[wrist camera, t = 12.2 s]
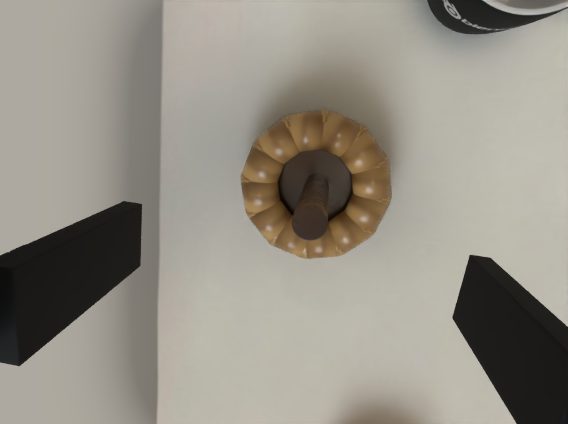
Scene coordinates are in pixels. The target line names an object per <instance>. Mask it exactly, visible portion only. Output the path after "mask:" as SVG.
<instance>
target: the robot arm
mask: <svg viewBox="0 0 568 424" xmlns="http://www.w3.org/2000/svg"><path fill="white" fill-rule="evenodd" d="M141 218H142V204H138V203H132V202H126V201H123V202H121V203H119V204H117V205H115V206H112V207H110V208H108V209H105V210H103V211H101V212H99V213H96V214H94V215H92V216H90V217H88V218H85V219H83V220H81V221H79V222H76V223H74V224H72V225H70V226H67V227H65V228H63V229H60V230H58V231H56V232H54V233H51V234H49V235H47V236H45V237H42V238H40V239H38V240H36V241H33V242H31V243H29V244H26V245H23V246H21V247H18V248H16V249H14V250H12V251H10V252H7V253H5V254H2V255H0V362H1V363H6V364H11V365H17V366H20V365H21V364H23V363H24V362H25V361H26V360H28V359H29V358H30V357H31V356H32V355H34V354H35V353H36V352H37V351H38V350H40V349H41V348H42V347H43V346H44V345H46V344H47V343H48V342H49V341H50V340H52V339H53V338H54V337H55V336H56V335H57V334H59V333H60V332H61V331H62V330H64V329H65V328H66V327H67V326H68V325H70V324H71V323H72V322H73V321H74V320H75V319H77V318H78V317H79V316H80V315H82V314H83V313H84V312H85V311H87V310H88V309H89V308H90V307H91V306H92V305H94V304H95V303H96V302H97V301H99V300H100V299H101V298H102V297H103V296H105V295H106V294H107V293H108V292H109V291H111V290H112V289H113V288H114V287H115V286H117V285H118V284H119V283H120V282H121V281H123V280H124V279H125V278H126V277H127V276H129V275H130V274H131V273H132V272H133V271H135V270H136V269H137V268H138V267H139V266H140V258H141V221H142V219H141ZM452 318H453V320H454V321H455V323H456V325H457V326H458V328H459V330H460V331H461V333H462V335H463V336H464V338H465V340H466V341H467V343H468V344H469V346H470V348H471V349H472V351H473V353H474V354H475V356H476V358H477V359H478V361H479V362H480V364H481V366H482V367H483V369H484V371H485V372H486V374H487V376H488V377H489V379H490V381H491V382H492V384H493V385H494V387H495V389H496V390H497V392H498V394H499V395H500V397H501V399H502V400H503V402H504V404H505V405H506V407H507V408H508V410H509V412H510V413H511V415H512V417H513V418H514V420H515V422H516V423H517V424H568V327H567V326H566V325H565V324H564V323H563V322H562V321H560V320H559V319H558V318H557V317H556V316H555V315H554V314H553V313H551V312H550V311H549V310H548V309H547V308H546V307H545V306H544V305H543V304H541V303H540V302H539V301H538V300H537V299H536V298H535V297H534V296H532V295H531V294H530V293H529V292H528V291H527V290H526V289H525V288H524V287H522V286H521V285H520V284H519V283H518V282H517V281H516V280H515V279H513V278H512V277H511V276H510V275H509V274H508V273H507V272H506V271H504V270H503V269H502V268H501V267H500V266H499V265H498V264H497V263H496V262H494V261H493V260H492V259H491V258H488V257H481V256H475V255H470V256H469V260H468V264H467V267H466V271H465V274H464V278H463V282H462V285H461V289H460V292H459V296H458V300H457V303H456V307H455V310H454V314H453V317H452Z"/></svg>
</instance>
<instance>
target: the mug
mask: <svg viewBox="0 0 568 424" xmlns="http://www.w3.org/2000/svg"><path fill="white" fill-rule="evenodd" d="M427 1H428V4H429V7H430V9H431V11H432V12H433V14H434V15H435V17H436V18H437V19H438V20H439V21H440V22H441V23H442V24H443V25H445V26H446V27H448V28H450V29H452V30H454V31H457V32H461V33H466V34H487V33H493V32H499V31H504V30H508V29H512V28H515V27H519V26H523V25H526V24H529V23H532V22H535V21H537V20H540V19H543V18H546V17H548V16H551V15H553V14H556V13H558V12H560V11H562V10H564V9H566V8H568V0H427Z"/></svg>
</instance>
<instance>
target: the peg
mask: <svg viewBox="0 0 568 424" xmlns="http://www.w3.org/2000/svg"><path fill="white" fill-rule="evenodd" d="M278 188H279V195H280V200H281V202H282V203H283V204H284V206H285V207H286V208H287V209H288V211H289V212H290V213H291V215H293V217H292V222H291V224H292V229H293V231H294V233H295V234H296V235H297V236H298V237H299V238H301V239H303V240H306V241H313V240H317V239H319V238H321V237H322V236H323V235H324V234H325V232H326V230H327V227H328V221H330V220H331V219H332V218H334V217H335V216H337V215H338V214H340V213H341V212H343V211H344V210H345V208H346V206H347V204H348V202H349V200H350V198H351V196H352V194H353V187H352V176H351V172H350V171H349V170H348V168H347V167H346V165H345V164H344V163H343V161H342V160H341V159H340V157H338V156H335V155H333V154H331V153H328V152H326V151H324V150H321V149H318V150H310V151H302V152H300V153H298V154H297V155H296V156H294V157H293V158H292V159H290V160H289V161H288V162H286V163H285V165H284V167H283V169H282V172H281V174H280V177H279V179H278Z"/></svg>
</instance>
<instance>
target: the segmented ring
mask: <svg viewBox="0 0 568 424" xmlns="http://www.w3.org/2000/svg"><path fill="white" fill-rule="evenodd" d="M318 149H321V150H324V151H326V152H328V153H331V154H333V155H335V156H338V157H340V159H341V160H342V161H343V163H344V164H345V165H346V167H347V168H348V170H349V171H350V172H351V176H352V187H353V194H352V196H351V198H350V200H349V202H348V204H347V206H346V208H345V210H344V211H343V212H341V213H340V214H338V215H337V216H335V217H334V218H332V219H331V220H330V221H328V227H327V230H326V232H325V234H324V235H323V236H322V237H321V238H319V239H317V240H313V241H306V240H303V239H301V238H299V237H298V236H297V235H296V234H295V233H294V231H293V229H292V224H291V222H292V217H293V215H291V213H290V212H289V211H288V209H287V208H286V207H285V206H284V204H283V203H282V202H281V200H280V195H279V188H278V179H279V177H280V174H281V172H282V169H283V167H284V165H285V163H286V162H288V161H289V160H290V159H292V158H293V157H294V156H296V155H297V154H298V153H300V152H302V151H310V150H318ZM241 185H242V192H243V198H244V204H245V210H246V214H247V216H248V217H249V219H250V220H251V221H252V223H253V224H254V225H255V226H256V228H257V229H258V230H259V231H260V233H261V234H262V235H263V236H264V238H265V239H266V240H267V241H268V242H269V243H270V244H271V245H273V246H275V247H277V248H280V249H282V250H284V251H287V252H289V253H291V254H294V255H296V256H298V257H301V258H305V259H310V258H322V257H334V256H341V255H343V254H345V253H347V252H348V251H350V250H351V249H353V248H354V247H356V246H357V245H359V244H361V243H362V242H364V241H365V240H367V239H368V238H370V237H371V236H372V235H373V234H374V233H375V231H376V230H377V228H378V226H379V224H380V222H381V220H382V218H383V216H384V214H385V212H386V210H387V208H388V206H389V204H390V202H391V198H392V192H391V177H390V164H389V159H388V157H387V155H386V154H385V152H384V151H383V150H382V148H381V147H380V145H379V144H378V143H377V141H376V140H375V138H374V137H373V135H372V134H371V133H370V131H369V130H368V129H367V127H366V126H364V125H363V124H361V123H359V122H356V121H354V120H352V119H349V118H347V117H345V116H342V115H340V114H338V113H335V112H333V111H330V110H325V109H324V110H316V111H308V112H301V113H294V114H288V115H286V116H284V117H282V118H281V119H280V120H279V121H277V122H276V123H275V124H274V125H272V126H271V127H270V128H269V129H267V130H266V131H265V132H264V133H262V134H261V135H260V136H259V137H258V138H256V139H255V141H254V142H253V144H252V147H251V150H250V152H249V155H248V157H247V160H246V163H245V165H244V168H243V171H242V174H241Z"/></svg>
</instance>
